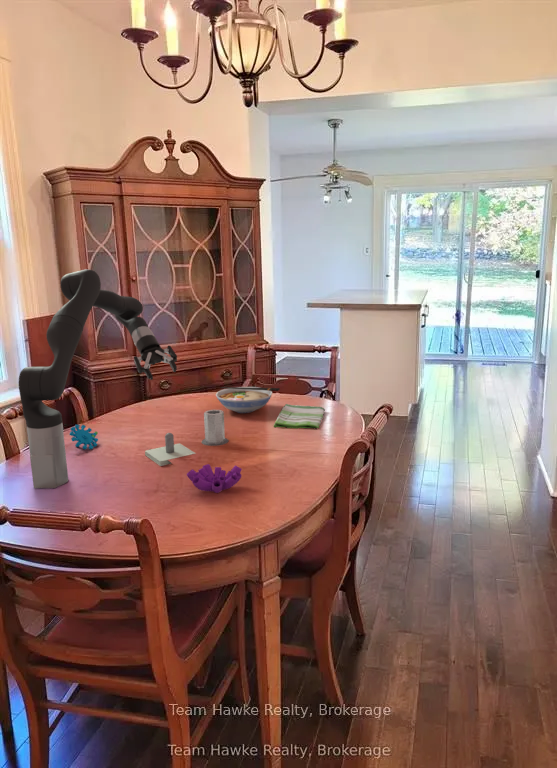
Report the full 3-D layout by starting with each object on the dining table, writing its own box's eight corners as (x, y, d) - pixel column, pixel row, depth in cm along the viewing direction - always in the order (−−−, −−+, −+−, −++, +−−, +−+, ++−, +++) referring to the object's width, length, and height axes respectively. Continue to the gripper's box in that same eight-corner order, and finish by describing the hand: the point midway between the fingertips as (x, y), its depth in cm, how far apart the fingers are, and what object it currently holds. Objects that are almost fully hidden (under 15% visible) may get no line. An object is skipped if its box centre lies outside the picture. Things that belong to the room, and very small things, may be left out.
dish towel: (325, 413, 231) (325, 404, 230) (319, 430, 209) (319, 421, 208) (283, 411, 234) (282, 403, 233) (272, 429, 212) (272, 419, 211)
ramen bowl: (204, 416, 226) (203, 396, 225) (225, 402, 248) (224, 383, 246) (266, 420, 220) (265, 400, 218) (282, 405, 241) (281, 386, 239)
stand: (227, 449, 189) (226, 427, 187) (199, 450, 189) (198, 428, 187) (230, 441, 197) (229, 419, 196) (203, 441, 197) (202, 420, 196)
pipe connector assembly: (240, 506, 155) (233, 488, 148) (186, 502, 158) (177, 484, 151) (247, 469, 162) (241, 450, 155) (196, 466, 165) (188, 447, 158)
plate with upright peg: (160, 466, 175) (158, 441, 174) (145, 455, 185) (143, 431, 183) (196, 457, 182) (195, 434, 180) (179, 447, 192) (178, 424, 190)
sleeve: (211, 445, 189) (209, 415, 186) (202, 440, 193) (201, 411, 191) (227, 441, 192) (226, 412, 190) (218, 437, 197) (217, 408, 194)
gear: (81, 449, 186) (66, 425, 189) (72, 460, 189) (57, 436, 191) (106, 444, 196) (91, 420, 199) (97, 454, 198) (82, 431, 201)
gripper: (125, 340, 203) (143, 374, 195) (164, 329, 208) (182, 361, 200) (127, 354, 208) (144, 387, 201) (164, 342, 214) (182, 374, 206)
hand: (163, 374), depth 201 cm, fingers open, 8 cm apart
